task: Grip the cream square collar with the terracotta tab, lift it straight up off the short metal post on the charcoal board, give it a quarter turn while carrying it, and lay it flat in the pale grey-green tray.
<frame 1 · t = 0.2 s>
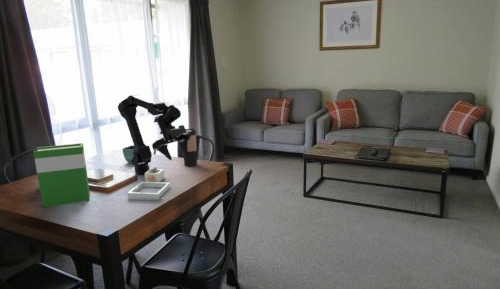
hand: (179, 157, 165), 14 cm above the table, tool tilted 30°, fingers open, 9 cm apart
travel mug: (190, 164, 203), on the table
stand: (155, 182, 174), on the table
tray: (150, 193, 161), on the table
hardback book: (67, 201, 155), on the table
flower pot: (134, 162, 210), on the table
collar: (155, 179, 176), point 1 cm above the table, touching stand
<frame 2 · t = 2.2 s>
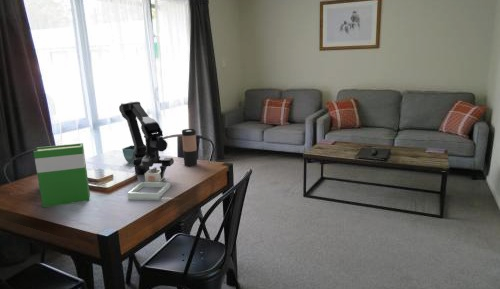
hand: (154, 178, 176), 2 cm above the table, tool pointing down, fingers closed on collar, 7 cm apart
collar: (155, 179, 176), point 1 cm above the table, touching gripper, stand
everything else where it was.
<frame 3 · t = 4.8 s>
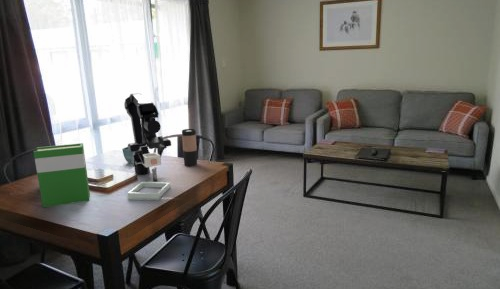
hand: (151, 162, 166), 12 cm above the table, tool pointing down, fingers closed on collar, 7 cm apart
collar: (151, 164, 167), point 11 cm above the table, touching gripper
everything else where it was.
when the fingers open (3 cm above the table, at t = 7.5 s): collar drops 1 cm, resting on tray.
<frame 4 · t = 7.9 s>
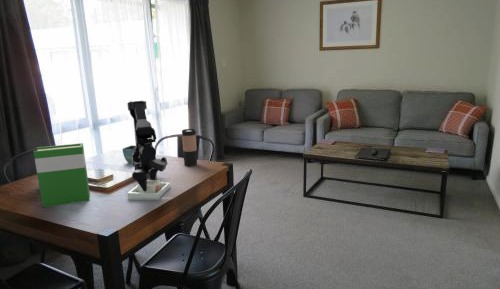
hand: (149, 187, 160), 3 cm above the table, tool pointing down, fingers open, 9 cm apart
collar: (149, 192, 160), point 1 cm above the table, touching tray
everything else where it was.
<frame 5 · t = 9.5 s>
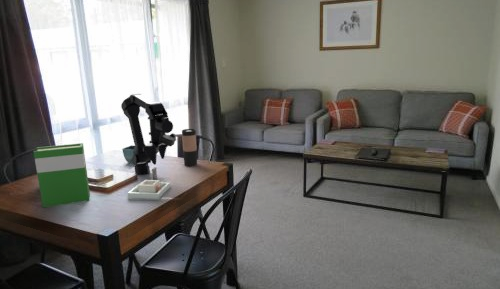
hand: (158, 161, 171), 11 cm above the table, tool pointing down, fingers open, 9 cm apart
nothing on the table moved.
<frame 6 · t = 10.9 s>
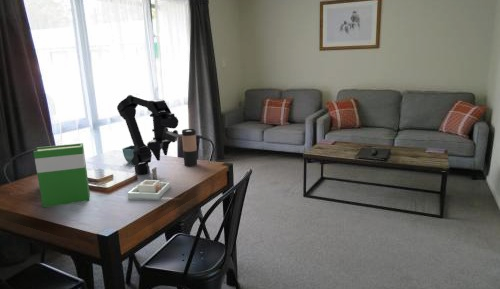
hand: (162, 157, 174), 12 cm above the table, tool pointing down, fingers open, 9 cm apart
nothing on the table moved.
at the end: collar inside the target area on the tray (0.0 cm from its centre), point 0.8 cm above the tray's base; collar tilted 0°; the gripper is holding nothing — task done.
